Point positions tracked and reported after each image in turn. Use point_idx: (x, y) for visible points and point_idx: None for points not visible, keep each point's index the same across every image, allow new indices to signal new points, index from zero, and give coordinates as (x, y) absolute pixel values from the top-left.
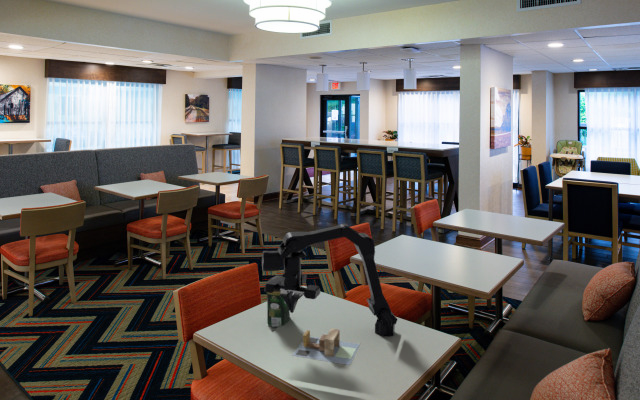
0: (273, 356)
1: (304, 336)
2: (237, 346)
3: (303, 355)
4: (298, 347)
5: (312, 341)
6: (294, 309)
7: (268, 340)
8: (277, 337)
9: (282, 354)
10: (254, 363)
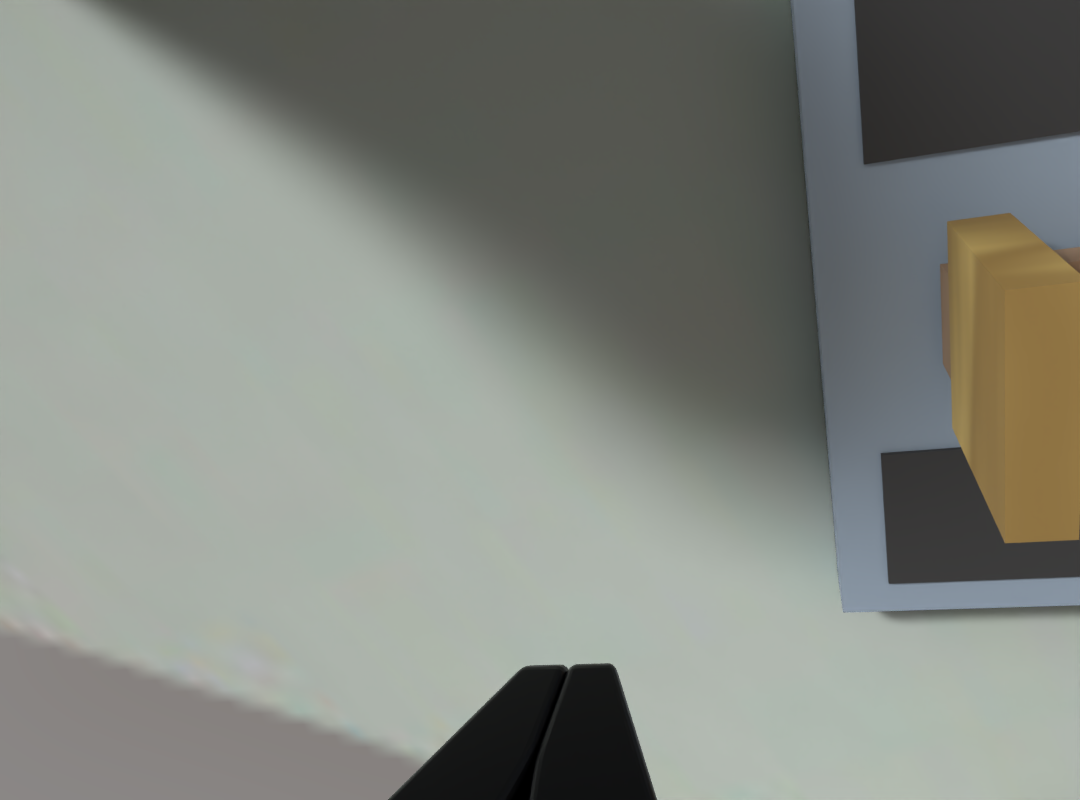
0: (578, 610)
1: (1034, 527)
2: (70, 560)
3: (1030, 578)
4: (838, 396)
5: (1016, 100)
6: (631, 722)
7: (253, 290)
8: (299, 147)
9: (658, 536)
10: None
